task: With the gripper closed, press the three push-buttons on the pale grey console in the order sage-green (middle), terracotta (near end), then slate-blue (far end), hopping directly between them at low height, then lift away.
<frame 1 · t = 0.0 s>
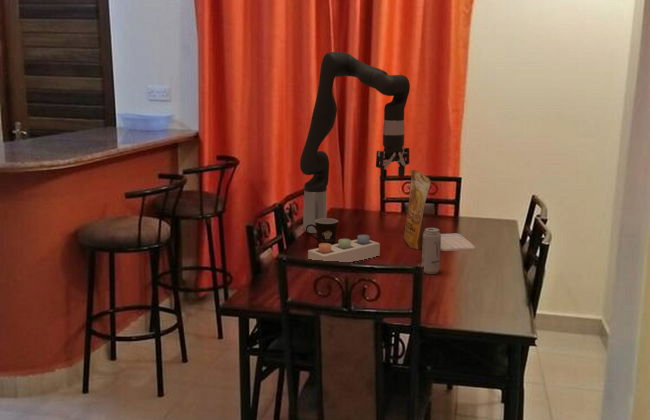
hand: (392, 178, 242), 29 cm above the table, fingers open, 8 cm apart
calculator: (450, 244, 267), on the table
button sage: (344, 244, 243), point 6 cm above the table, slide at 0.0 cm
button slate: (363, 240, 249), point 6 cm above the table, slide at 0.0 cm
button terracotta: (324, 248, 238), point 6 cm above the table, slide at 0.0 cm
console: (344, 260, 245), on the table
pancake mix bag: (414, 244, 265), on the table
energy drink can: (430, 272, 233), on the table
coffee mug: (322, 246, 262), on the table
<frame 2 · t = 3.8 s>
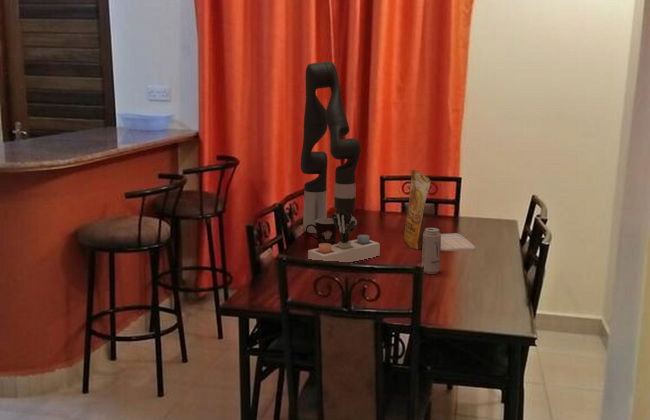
hand: (344, 242, 243), 7 cm above the table, fingers closed
button sage: (344, 246, 244), point 5 cm above the table, slide at 0.8 cm, touching gripper
everything else where it was.
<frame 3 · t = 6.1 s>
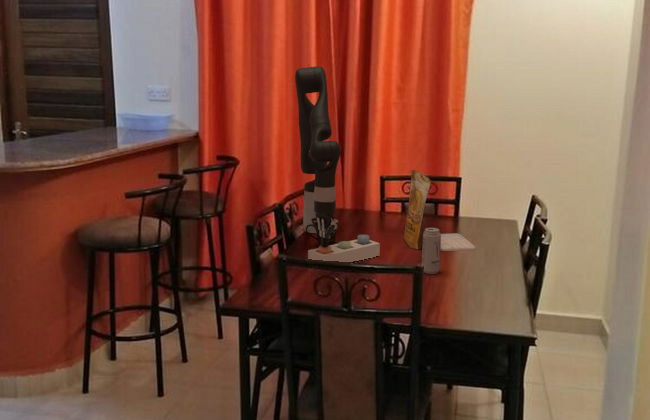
hand: (324, 246, 238), 7 cm above the table, fingers closed
button sage: (344, 246, 244), point 5 cm above the table, slide at 0.9 cm
button terracotta: (324, 250, 238), point 5 cm above the table, slide at 0.8 cm, touching gripper
everything else where it was.
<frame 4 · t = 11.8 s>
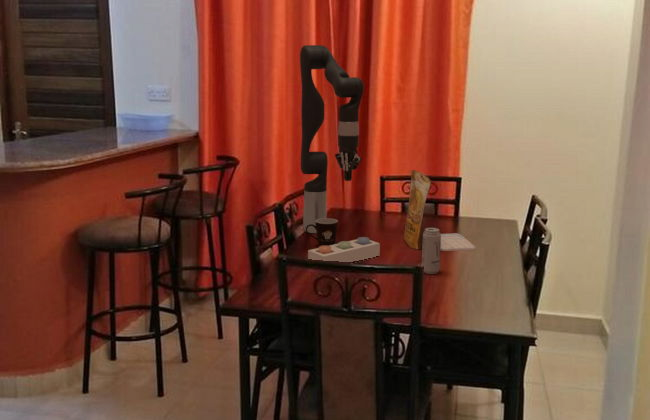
hand: (347, 180, 249), 27 cm above the table, fingers closed
button slate: (363, 242, 249), point 5 cm above the table, slide at 0.9 cm
button terracotta: (324, 251, 238), point 5 cm above the table, slide at 0.9 cm
everything else where it was.
at the end: button sage slide at 0.9 cm; button terracotta slide at 0.9 cm; button slate slide at 0.9 cm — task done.
